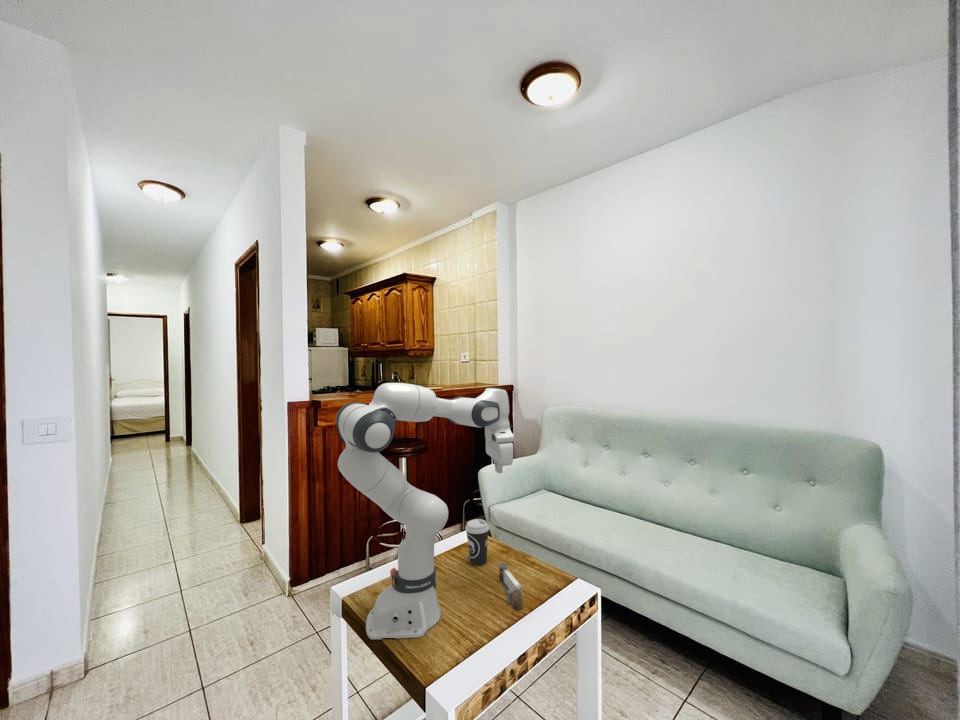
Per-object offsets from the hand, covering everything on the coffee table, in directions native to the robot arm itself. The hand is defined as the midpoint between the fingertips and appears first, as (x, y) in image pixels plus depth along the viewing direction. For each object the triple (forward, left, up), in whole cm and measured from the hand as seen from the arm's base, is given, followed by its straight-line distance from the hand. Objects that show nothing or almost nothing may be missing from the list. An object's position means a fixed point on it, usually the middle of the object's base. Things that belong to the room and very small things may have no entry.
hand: (498, 472), depth 134 cm
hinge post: (+1, +2, -39) cm, 39 cm away
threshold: (+1, -5, -39) cm, 39 cm away
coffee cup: (-5, +17, -39) cm, 43 cm away
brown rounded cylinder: (+1, -13, -39) cm, 41 cm away
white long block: (+2, -6, -38) cm, 39 cm away
